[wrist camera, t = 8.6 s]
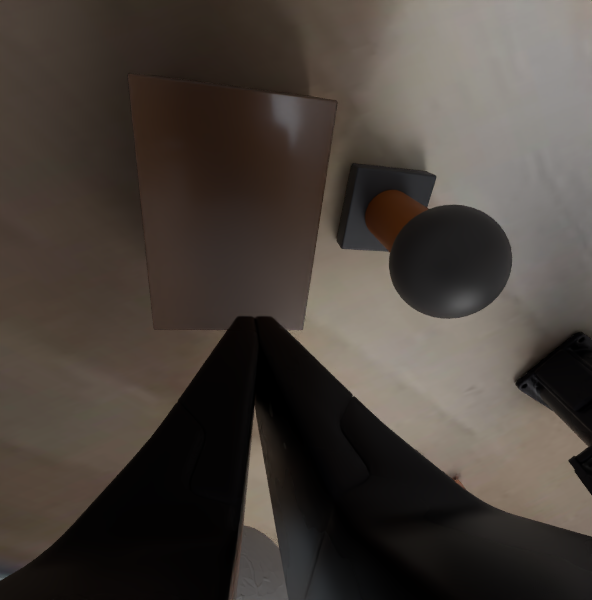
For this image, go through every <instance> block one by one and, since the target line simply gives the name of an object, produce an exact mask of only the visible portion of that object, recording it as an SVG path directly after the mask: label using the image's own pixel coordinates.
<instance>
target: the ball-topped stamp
mask: <svg viewBox="0 0 592 600" xmlns="http://www.w3.org/2000/svg"><path fill="white" fill-rule="evenodd" d="M435 180H436V175H434V174H431V173H429V172H427V171H420V170H411V169H402V168H393V167H384V166H375V165H366V164H356V163H352V164H351V169H350V174H349V179H348V184H347V189H346V195H345V200H344V205H343V210H342V215H341V220H340V225H339V231H338V236H337V243H338V244H339V245H340V247H341V248H342V249H354V250H371V251H388V252H390V257H389V270H390V276H391V279H392V282H393V285H394V287H395V289H396V291H397V292H398V294H399V295H400V297H401V298H402V299H403V300H404V301H405V302H406V303H407V304H408V305H410V306H411V307H412V308H414V309H415V310H417V311H419V312H421V313H423V314H426V315H429V316H432V317H437V318H448V319H450V318H460V317H464V316H468V315H471V314H473V313H476V312H478V311H480V310H482V309H483V308H485V307H486V306H488V305H489V304H490V303H492V302H493V301H494V300H495V299H496V298H497V297H498V296H499V294H500V293H501V292H502V290H503V289H504V287H505V285H506V283H507V281H508V279H509V276H510V272H511V267H512V252H511V246H510V243H509V240H508V238H507V236H506V234H505V232H504V231H503V229H502V228H501V227H500V225H499V224H498V223H497V222H496V221H495V220H494V219H492V218H491V217H490V216H488V215H487V214H485V213H484V212H482V211H480V210H477V209H474V208H472V207H468V206H463V205H443V206H438V207H435V208H431V209H428V208H427V206H428V203H429V200H430V196H431V193H432V190H433V187H434V184H435Z"/></svg>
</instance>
